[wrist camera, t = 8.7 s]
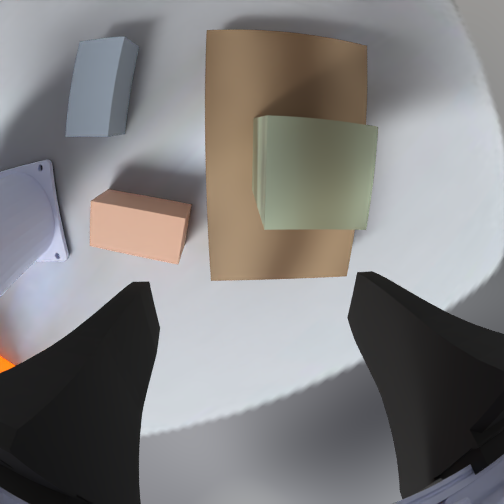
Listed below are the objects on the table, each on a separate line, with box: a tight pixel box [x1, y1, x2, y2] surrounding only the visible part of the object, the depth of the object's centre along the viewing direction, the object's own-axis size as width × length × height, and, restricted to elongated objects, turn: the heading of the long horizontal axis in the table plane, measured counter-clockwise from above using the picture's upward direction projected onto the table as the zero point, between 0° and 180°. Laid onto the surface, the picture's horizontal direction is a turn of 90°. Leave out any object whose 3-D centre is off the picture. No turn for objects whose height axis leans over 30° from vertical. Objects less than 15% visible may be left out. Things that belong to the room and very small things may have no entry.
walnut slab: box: [205, 30, 367, 281], centre depth 16 cm, size 9×15×2 cm, turn 179°
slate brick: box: [65, 36, 139, 137], centre depth 13 cm, size 6×3×3 cm, turn 170°
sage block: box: [252, 115, 378, 230], centre depth 12 cm, size 4×4×6 cm
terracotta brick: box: [90, 189, 192, 264], centre depth 17 cm, size 6×3×3 cm, turn 75°
